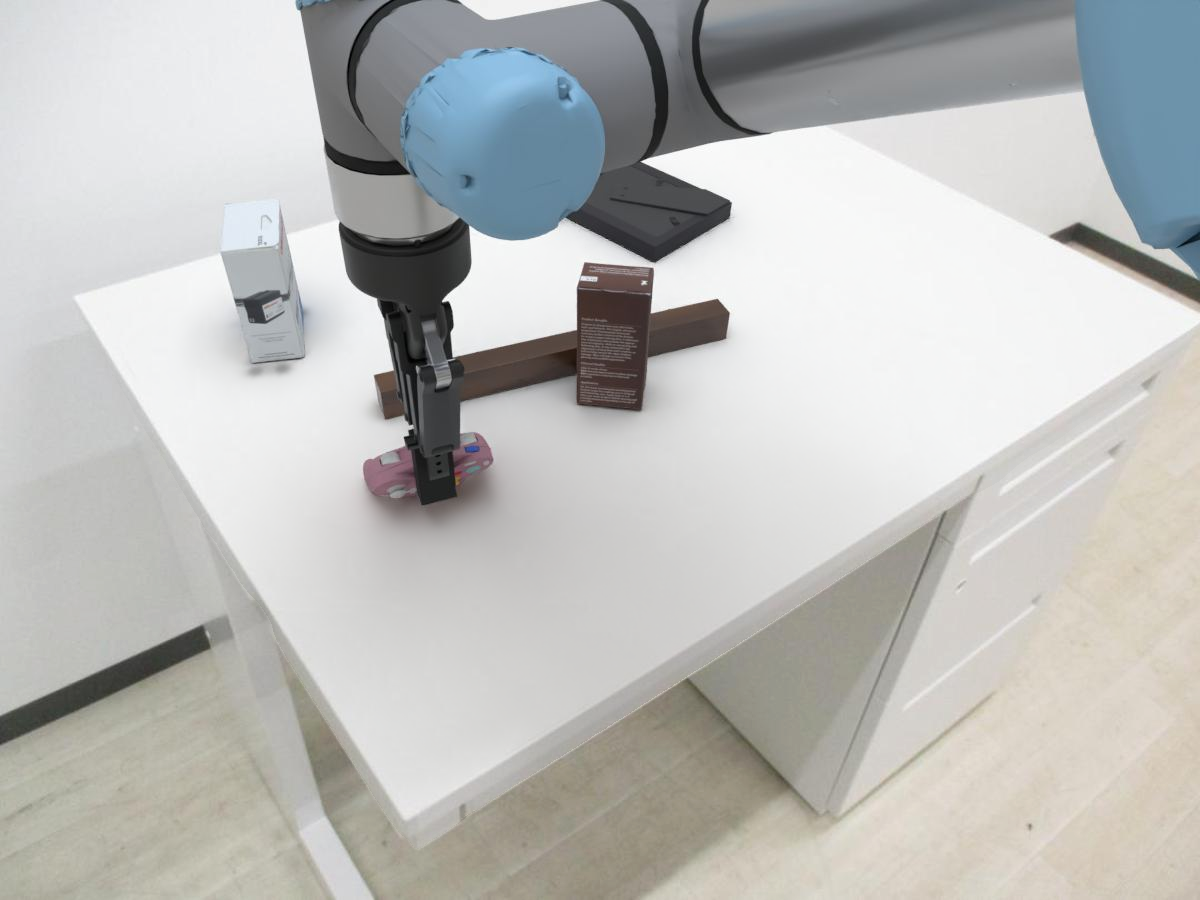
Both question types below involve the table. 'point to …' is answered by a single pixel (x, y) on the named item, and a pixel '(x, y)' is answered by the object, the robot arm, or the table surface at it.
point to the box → (613, 334)
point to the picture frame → (649, 210)
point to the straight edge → (564, 354)
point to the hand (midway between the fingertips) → (437, 495)
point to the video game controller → (397, 471)
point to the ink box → (262, 279)
